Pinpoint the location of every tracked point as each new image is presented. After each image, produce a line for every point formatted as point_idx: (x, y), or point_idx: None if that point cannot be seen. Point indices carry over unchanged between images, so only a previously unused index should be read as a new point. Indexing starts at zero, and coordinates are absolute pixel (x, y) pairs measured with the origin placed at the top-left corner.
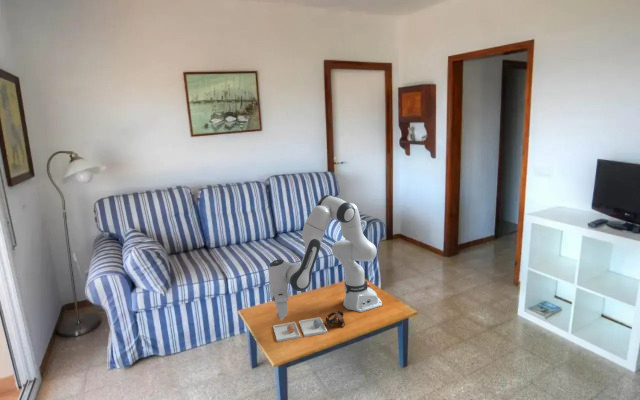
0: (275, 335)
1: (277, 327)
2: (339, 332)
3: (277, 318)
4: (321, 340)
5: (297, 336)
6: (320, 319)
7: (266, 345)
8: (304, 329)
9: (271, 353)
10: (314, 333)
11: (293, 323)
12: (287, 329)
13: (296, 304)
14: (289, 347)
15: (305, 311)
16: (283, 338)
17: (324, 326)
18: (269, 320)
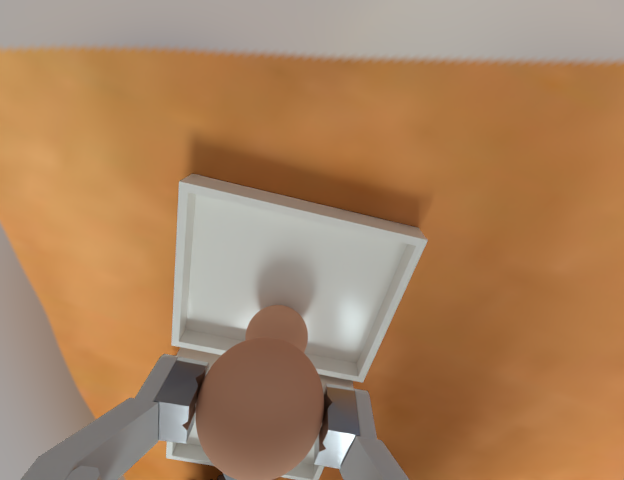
0: (275, 200)
1: (396, 260)
2: (163, 470)
3: (260, 338)
4: (121, 397)
5: (174, 325)
6: (293, 475)
7: (193, 70)
8: None
9: (48, 64)
10: None
11: (359, 363)
12: (278, 309)
13: (572, 446)
14: (100, 230)
15: (455, 448)
16: (178, 236)
17: (211, 463)
18: (556, 248)
